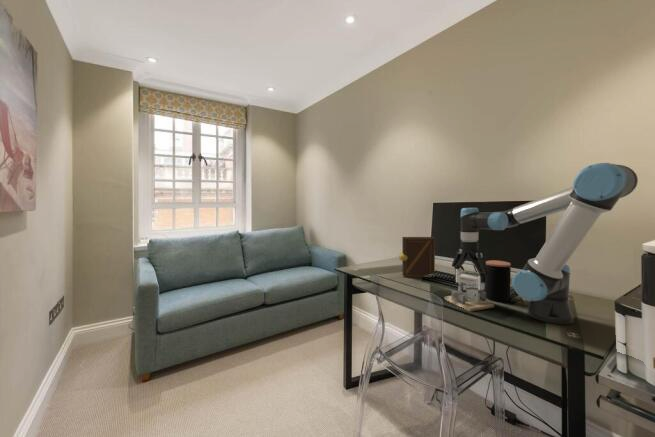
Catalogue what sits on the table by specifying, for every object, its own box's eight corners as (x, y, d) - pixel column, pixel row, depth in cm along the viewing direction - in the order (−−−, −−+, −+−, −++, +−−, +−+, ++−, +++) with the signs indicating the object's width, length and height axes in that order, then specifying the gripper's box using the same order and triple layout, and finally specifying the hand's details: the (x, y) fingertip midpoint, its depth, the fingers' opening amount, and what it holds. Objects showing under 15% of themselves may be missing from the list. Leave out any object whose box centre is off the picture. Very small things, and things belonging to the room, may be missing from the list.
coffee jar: (503, 295, 147) (504, 260, 146) (514, 302, 136) (515, 265, 135) (481, 294, 148) (481, 260, 147) (490, 302, 137) (491, 265, 136)
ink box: (457, 299, 137) (457, 275, 136) (460, 297, 141) (460, 273, 140) (477, 303, 131) (478, 278, 131) (479, 300, 135) (480, 276, 134)
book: (432, 274, 187) (432, 236, 186) (435, 278, 179) (436, 238, 177) (397, 274, 190) (397, 236, 189) (399, 277, 182) (399, 238, 180)
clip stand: (494, 307, 131) (494, 295, 131) (469, 311, 127) (470, 299, 126) (466, 296, 146) (467, 285, 146) (444, 299, 142) (444, 288, 141)
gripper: (499, 243, 124) (498, 292, 125) (456, 237, 147) (456, 278, 148) (485, 244, 121) (485, 294, 122) (444, 238, 145) (444, 279, 146)
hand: (469, 285), depth 135 cm, fingers open, 13 cm apart
